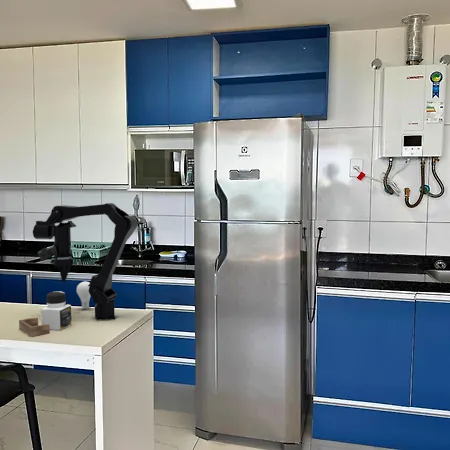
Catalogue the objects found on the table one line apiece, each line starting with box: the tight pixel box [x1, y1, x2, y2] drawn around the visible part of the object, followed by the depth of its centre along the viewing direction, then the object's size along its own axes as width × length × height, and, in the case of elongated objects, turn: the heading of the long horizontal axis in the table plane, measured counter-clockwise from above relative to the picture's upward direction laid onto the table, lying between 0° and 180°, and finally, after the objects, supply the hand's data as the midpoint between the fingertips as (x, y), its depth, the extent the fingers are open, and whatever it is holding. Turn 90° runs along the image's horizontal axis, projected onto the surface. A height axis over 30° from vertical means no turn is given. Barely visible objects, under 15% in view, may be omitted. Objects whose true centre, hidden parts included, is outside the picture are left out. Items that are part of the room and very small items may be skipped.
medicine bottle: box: [40, 291, 72, 331], centre depth 162 cm, size 7×7×12 cm
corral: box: [18, 316, 51, 338], centre depth 157 cm, size 6×12×3 cm, turn 40°
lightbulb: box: [76, 281, 91, 310], centre depth 186 cm, size 6×6×11 cm
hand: (63, 281), depth 176 cm, fingers closed
